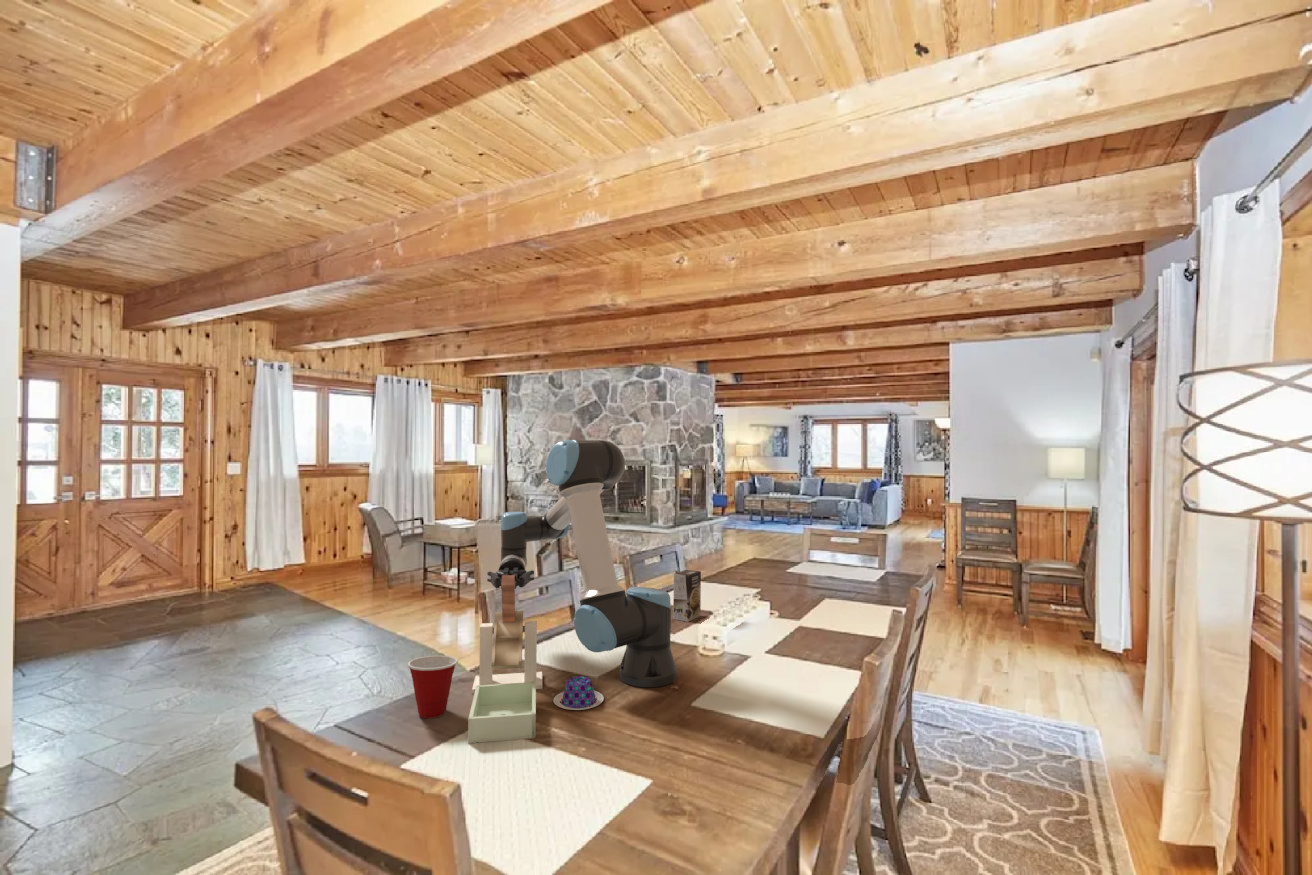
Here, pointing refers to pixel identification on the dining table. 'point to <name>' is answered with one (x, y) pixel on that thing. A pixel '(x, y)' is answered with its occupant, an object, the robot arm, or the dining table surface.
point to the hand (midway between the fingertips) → (507, 589)
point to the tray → (503, 712)
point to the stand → (528, 675)
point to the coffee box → (687, 595)
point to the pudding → (578, 694)
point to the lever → (507, 629)
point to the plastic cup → (432, 683)
